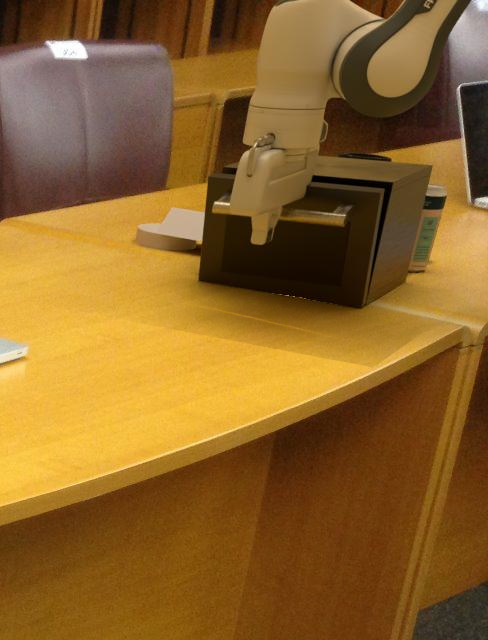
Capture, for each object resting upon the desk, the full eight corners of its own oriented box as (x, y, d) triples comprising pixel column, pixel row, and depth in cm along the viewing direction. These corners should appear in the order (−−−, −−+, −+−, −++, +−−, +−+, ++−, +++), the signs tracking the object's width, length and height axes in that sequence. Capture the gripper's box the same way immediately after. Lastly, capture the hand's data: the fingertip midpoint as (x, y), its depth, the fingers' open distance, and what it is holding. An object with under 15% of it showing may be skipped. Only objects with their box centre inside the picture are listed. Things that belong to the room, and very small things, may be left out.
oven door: (349, 322, 201) (368, 206, 192) (184, 299, 214) (194, 188, 205) (365, 303, 205) (384, 188, 196) (202, 281, 217) (212, 172, 208)
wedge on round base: (228, 256, 236) (149, 242, 244) (238, 212, 233) (157, 199, 241) (204, 265, 230) (123, 250, 238) (213, 219, 227) (131, 206, 235)
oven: (365, 305, 205) (393, 182, 198) (202, 283, 218) (222, 166, 211) (405, 281, 219) (433, 165, 212) (249, 262, 232) (270, 151, 225)
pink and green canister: (399, 264, 229) (421, 181, 224) (431, 270, 226) (455, 186, 220) (384, 268, 227) (406, 184, 221) (416, 274, 223) (440, 190, 218)
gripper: (281, 140, 183) (258, 258, 189) (332, 125, 197) (310, 234, 203) (228, 136, 186) (207, 251, 193) (282, 121, 201) (261, 229, 207)
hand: (260, 242), depth 198 cm, fingers closed
